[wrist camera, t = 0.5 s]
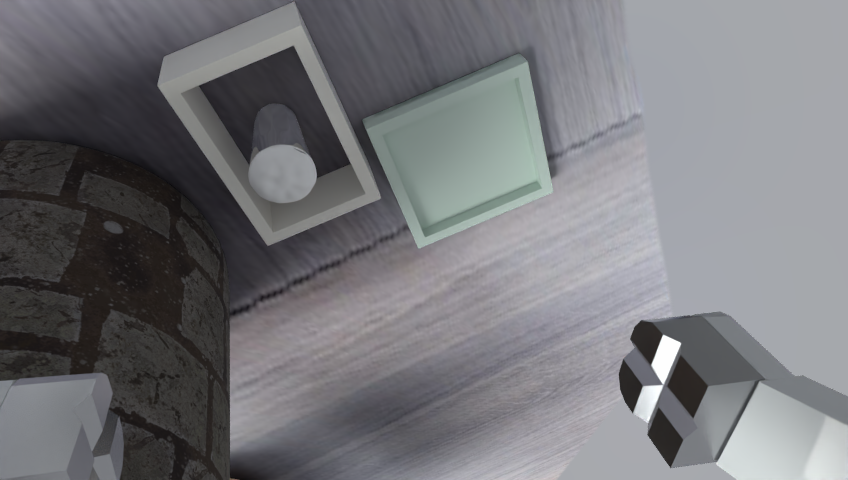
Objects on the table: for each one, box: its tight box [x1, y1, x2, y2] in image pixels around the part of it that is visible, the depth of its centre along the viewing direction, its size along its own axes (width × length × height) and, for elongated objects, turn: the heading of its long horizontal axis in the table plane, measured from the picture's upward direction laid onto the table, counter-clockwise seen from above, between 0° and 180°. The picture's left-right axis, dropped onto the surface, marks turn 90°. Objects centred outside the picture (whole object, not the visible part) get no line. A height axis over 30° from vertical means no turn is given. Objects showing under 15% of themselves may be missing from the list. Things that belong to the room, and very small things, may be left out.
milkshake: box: [248, 103, 317, 203], centre depth 42 cm, size 4×5×10 cm
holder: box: [157, 1, 381, 246], centre depth 44 cm, size 15×10×5 cm, turn 17°
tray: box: [362, 53, 553, 249], centre depth 52 cm, size 14×14×2 cm
